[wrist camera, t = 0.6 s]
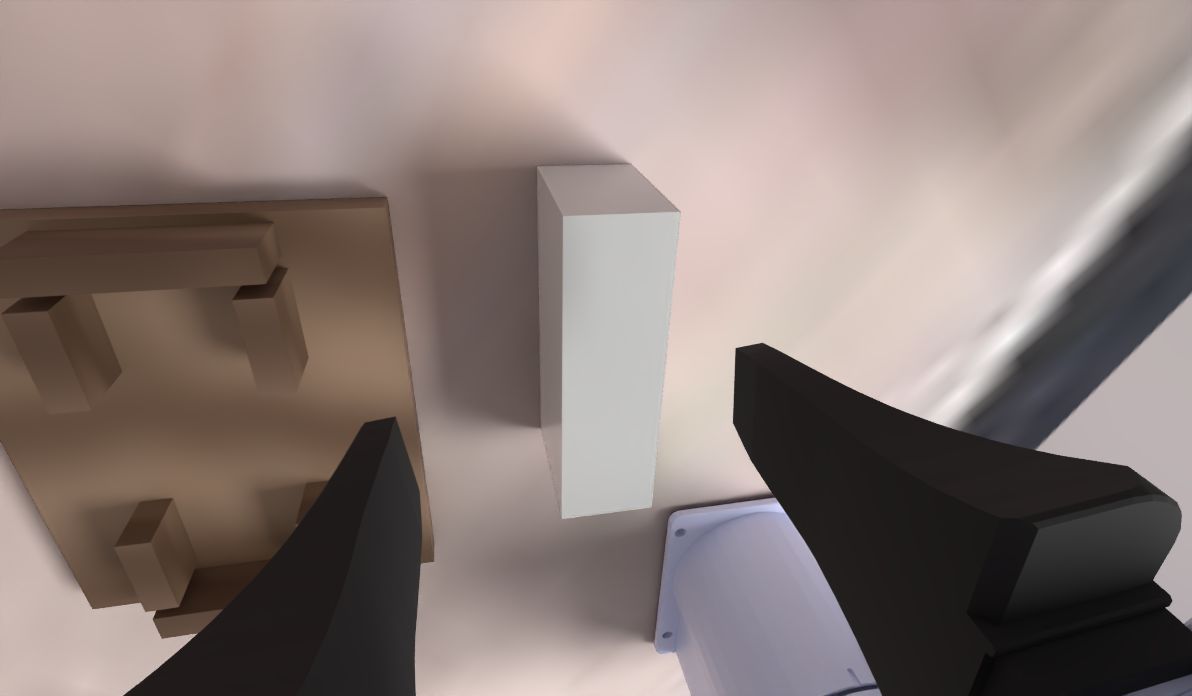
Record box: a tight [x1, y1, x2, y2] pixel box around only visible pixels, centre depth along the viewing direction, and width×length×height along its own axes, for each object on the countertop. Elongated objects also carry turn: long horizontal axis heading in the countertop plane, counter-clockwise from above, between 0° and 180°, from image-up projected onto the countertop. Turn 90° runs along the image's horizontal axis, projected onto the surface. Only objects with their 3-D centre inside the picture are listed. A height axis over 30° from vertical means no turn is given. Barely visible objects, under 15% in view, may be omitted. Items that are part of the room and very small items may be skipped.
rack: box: [0, 197, 434, 639], centre depth 20 cm, size 14×12×3 cm
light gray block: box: [537, 164, 681, 519], centre depth 20 cm, size 10×3×5 cm, turn 178°
